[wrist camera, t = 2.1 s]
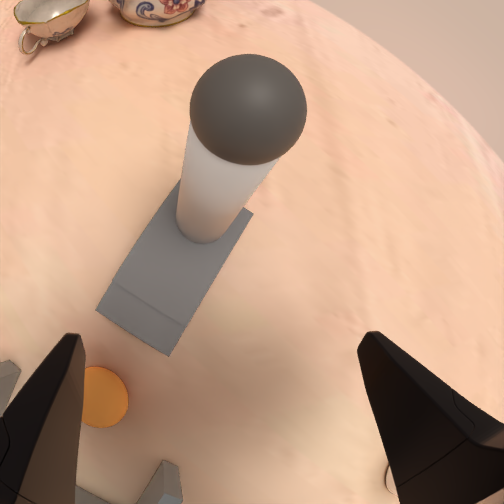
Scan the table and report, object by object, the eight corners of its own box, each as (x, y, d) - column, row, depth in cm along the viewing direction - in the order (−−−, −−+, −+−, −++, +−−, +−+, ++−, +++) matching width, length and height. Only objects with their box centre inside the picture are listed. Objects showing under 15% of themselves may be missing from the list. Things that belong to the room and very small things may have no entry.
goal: (138, 527, 17) (137, 564, 12) (-17, 430, 15) (-48, 448, 10) (178, 466, 19) (183, 500, 14) (9, 360, 17) (-24, 368, 12)
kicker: (168, 350, 20) (177, 440, 5) (105, 310, 20) (-29, 293, 5) (241, 228, 23) (368, 86, 8) (182, 191, 23) (224, 3, 8)
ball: (116, 427, 19) (107, 448, 15) (68, 396, 18) (50, 411, 14) (141, 382, 20) (136, 396, 16) (91, 351, 19) (76, 358, 15)
